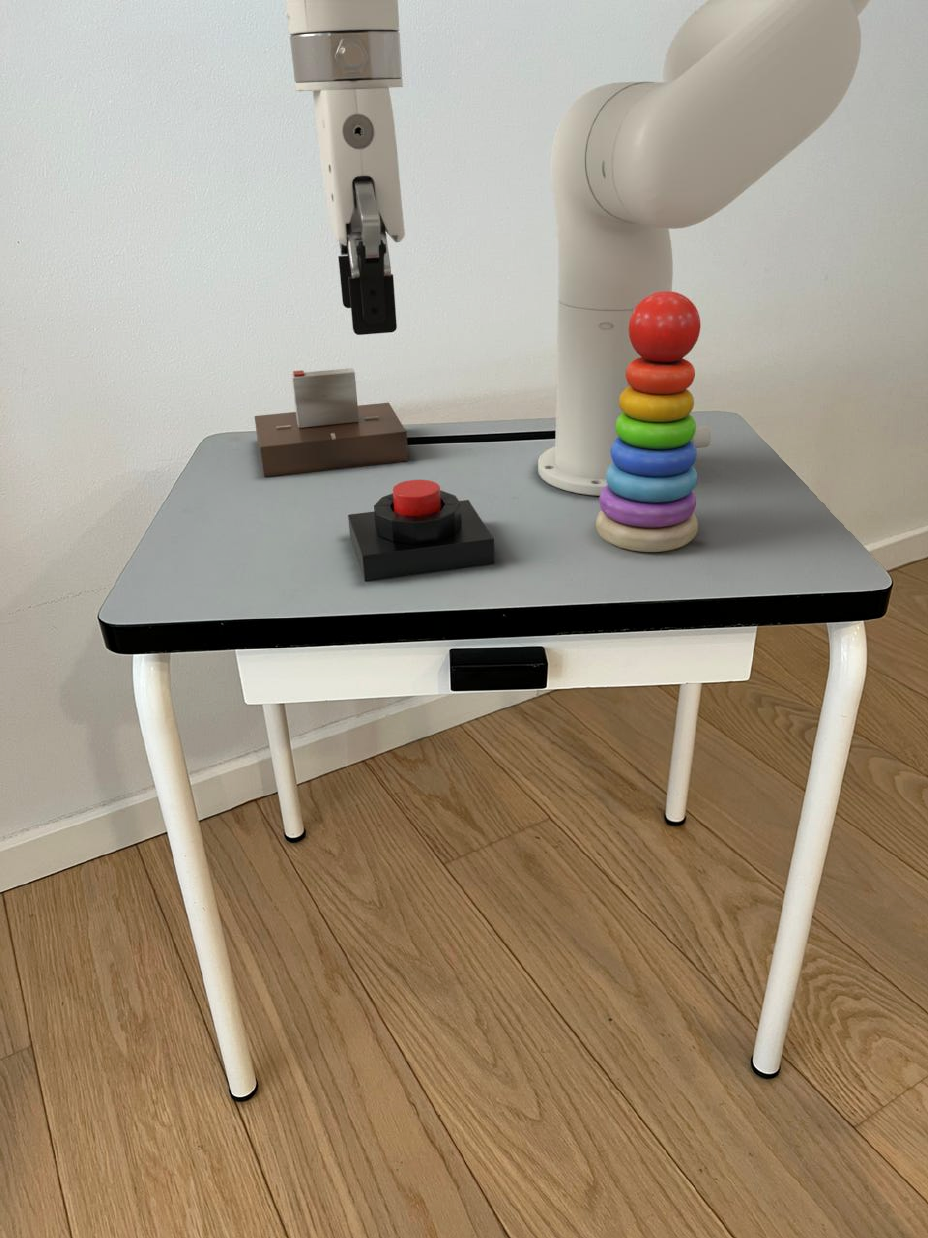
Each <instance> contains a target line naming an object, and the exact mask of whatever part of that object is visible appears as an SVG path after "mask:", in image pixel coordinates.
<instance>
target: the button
mask: <svg viewBox="0 0 928 1238" xmlns="http://www.w3.org/2000/svg"><path fill="white" fill-rule="evenodd" d="M440 490H441V486H440V484H439V483H437V482H435V481H433V480H429V479H410V480H409V479H408V480H405V481H402V482H399V483H397V484H395V485H394V486H393V489H392V493H393V500H394V511H395V512H396V513H398V514H401V515H409V516H421V515H429V514H432V513H435V512H437V511H440V509H441V498H440Z"/></svg>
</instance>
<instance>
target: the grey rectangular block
mask: <svg viewBox="0 0 928 1238" xmlns="http://www.w3.org/2000/svg"><path fill="white" fill-rule="evenodd" d="M290 376H291V384H292V385H291V386H292V392H293V400H294V409H295V412H296V418H297V424H298V428H305V427H314V426H324V425H334V424H343V423H353V422H359V416H358V406H359V405H358V394H357V384H356V383H357V381H356V372H355V371H354V369H353V367H349V368H339V369H338V368H337V369H325V370H316V371H305V370H304V369H302V370H293V371H292V373H291V374H290Z"/></svg>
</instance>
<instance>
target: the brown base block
mask: <svg viewBox="0 0 928 1238" xmlns="http://www.w3.org/2000/svg"><path fill="white" fill-rule="evenodd" d="M358 416H359V422H353V423H343V424H334V425H324V426H314V427H305V428H298V424H297V418H296V411H291V412H281V413H280V412H279V413H271V414H261V415H254V423H255V430H256V439H257V444H258V450H259V456H260V463H261V468H262V474H263V477H264V478H267V477H275V476H285V475H286V476H287V475H292V474H303V473H304V474H305V473H312V472H320V471H329V470H338V469H346V468H348V469H349V468H357V467H364V466H365V467H366V466H374V465H382V464H383V465H384V464H392V463H401V462H409V447H408V446H409V445H408V433H407V430H406V428H405V427H404V424H402V422H401V420H400V419H399V417H398V415H397V413H396V412H395V410H394V408H393V407H392V405H391V404H390V402H380V403H371V404H361V405H358Z"/></svg>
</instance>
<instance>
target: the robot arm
mask: <svg viewBox="0 0 928 1238" xmlns="http://www.w3.org/2000/svg"><path fill="white" fill-rule="evenodd" d="M870 1H871V0H707V1H706V2H704V3H703V4H702V5H701V6H700V7H699V8H697V9H696V10H695V11H694V12H693V13H691V14H690V15H689V17H688V18H687V19H686V20H685V21H684V22H683V24H682V25H681V26H680V27H679V29H678V30H677V32H676V33H675V35H674V37H672V38H673V39H672V40H671V42H670V43H669V46H668V48H667V52H666V54H665V58H664V62H663V70H662V78H663V81H659V82H658V81H657V82H655V81H620V82H612V83H607V84H603V85H599V86H597V87H595V88H592V89H591V90H588V91H587V92H585V93H584V94H582V95H581V96H580V97H578V98H577V99H576V100H575V101H574V102H573V103H571V105H570V106H569V107H568V109H567V110H566V111H565V113H563V116H562V117H561V119H560V121H559V123H558V126H557V127H556V130H555V133H554V136H553V140H552V143H551V144H552V145H551V150H550V181H551V191H552V200H553V207H554V214H555V222H556V234H557V255H558V256H557V257H558V267H557V268H558V276H557V277H558V279H557V280H558V281H557V283H558V285H557V326H556V327H557V330H556V331H557V332H556V333H557V334H556V379H555V380H556V386H555V387H556V388H555V389H556V390H555V397H556V398H555V435H554V436H555V439H554V440H555V442H554V446H552V447H550V448H548V449H546V450H545V451H544V452H542V454H541V455H540V456H539V458H538V460H537V473H538V475H539V476H540V478H541V479H542V480H543V481H545V482H546V483H547V484H548V485H550V486H553V487H555V488H557V489H559V490H562V491H566V492H570V493H574V494H578V495H586V496H595V497H600V494H601V491H602V490H603V489H604V487H605V486H606V485H608V484H607V481H606V473H607V470H608V468H609V466H610V465H611V464H612V463H613V461H612V458H611V453H610V451H611V446H612V444H613V442H614V441H615V440H616V439H617V438H618V437H619V436H618V435H617V432H616V421H617V418H618V417H619V416H620V414H622V413H623V411H622V410H621V408H620V405H619V398H620V395H621V393H622V392H623V391H624V390H625V389H626V388H627V387H629V386H630V385H629V384H628V382H627V380H626V369H627V367H628V365H629V364H630V363H631V362H632V361H633V360H635V359H637V358H640V357H641V356H640V355H639V354H638V353H637V352H636V351H635V349H634V348H633V346H632V344H631V341H630V337H629V322H630V318H631V315H632V313H633V311H634V309H635V308H636V306H637V305H638V304H639V303H640V302H641V301H642V300H643V299H644V298H646V297H647V296H649V295H651V294H654V293H656V292H662V291H672V292H673V275H674V274H673V273H674V271H673V270H674V269H673V267H674V266H673V265H674V263H673V249H672V242H671V235H670V229H671V230H672V229H673V230H674V229H675V230H677V229H684V228H689V227H692V226H695V225H697V224H700V223H702V222H704V221H706V220H708V219H709V218H712V216H714V215H716V214H717V213H719V212H720V211H721V210H723V209H724V208H726V207H727V206H728V205H730V204H732V202H733V201H735V200H736V199H737V198H739V197H740V196H741V195H742V194H743V193H744V192H745V191H747V190H748V189H749V188H750V187H751V186H753V185H754V184H755V183H756V182H757V181H759V180H760V179H761V178H763V176H764V175H766V174H767V173H768V172H769V171H770V170H771V169H773V168H774V167H775V166H777V165H778V164H779V163H780V162H781V161H782V160H784V158H786V157H787V156H788V155H790V153H792V152H793V151H794V150H795V149H796V148H798V146H800V145H801V144H802V143H803V142H805V141H806V140H807V139H808V138H809V137H811V135H813V133H815V132H816V131H817V130H818V129H819V128H821V126H822V125H824V123H825V122H827V120H828V119H829V118H830V117H831V116H832V114H833V113H834V112H835V111H836V109H837V108H838V107H839V105H840V104H841V102H842V100H843V99H844V97H845V95H846V93H847V92H848V89H849V87H850V86H851V83H852V81H853V78H854V76H855V73H856V71H857V68H858V64H859V60H860V53H861V44H862V31H861V24H860V20H859V16H860V14H861V13H862V12H863V11H864V9H865V8H866V7H867V6H868V4H869V2H870ZM285 6H286V17H287V25H288V33H289V43H290V50H291V60H292V61H291V62H292V70H293V79H294V90H295V92H312V97H313V108H314V115H315V126H316V135H317V144H318V153H319V161H320V170H321V176H322V184H323V189H324V190H323V191H324V196H325V197H324V198H325V202H326V207H327V212H328V217H329V221H330V222H329V223H330V227H331V231H332V233H333V235H334V237H335V239H336V240H337V242H338V243H339V251H340V255H338V257H337V258H338V267H339V277H340V278H339V279H340V288H341V299H342V305H343V306H344V307H345V308H346V309H350V312H351V323H352V324H351V325H352V331H353V332H354V334H355V335H358V336H363V335H376V334H389V333H394V332H396V330H397V328H398V325H397V312H396V311H397V310H396V309H397V308H396V297H395V295H396V294H395V282H394V280H395V279H394V274H393V273H392V267H391V259H390V253H389V247H388V239H387V235H388V236H389V237H390V238H391V239H392V241H394V242H395V243H400V242H402V240H403V239H404V238H405V235H406V232H405V231H406V230H405V221H404V212H403V200H402V190H401V189H402V188H401V180H400V169H399V167H400V166H399V155H398V144H397V136H396V125H395V118H394V111H393V104H392V99H391V92H390V88H403V87H404V83H403V82H404V81H403V67H402V65H403V64H402V49H401V47H402V46H401V32H400V20H399V19H400V17H399V16H400V15H399V0H285ZM711 438H712V436H711V430H710V428H709V427H708V425H704V426H696V431H695V435H694V437H693V438H692V440H691V441H692V443H693V444H694V445H695V447H696V449H701V448H707V447H709V446H710V444H711Z"/></svg>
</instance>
